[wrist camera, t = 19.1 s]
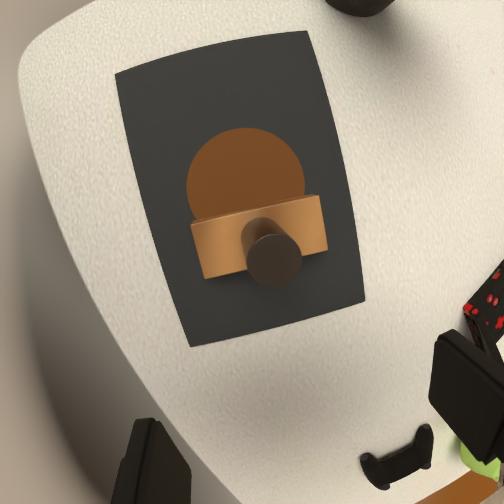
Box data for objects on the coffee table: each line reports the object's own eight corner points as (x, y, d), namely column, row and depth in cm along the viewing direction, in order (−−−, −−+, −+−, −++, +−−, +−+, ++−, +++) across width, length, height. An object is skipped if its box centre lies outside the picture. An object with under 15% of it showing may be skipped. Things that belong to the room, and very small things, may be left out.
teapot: (458, 401, 32) (505, 455, 20) (517, 358, 32) (565, 396, 20) (445, 466, 37) (474, 509, 25) (497, 430, 37) (529, 466, 25)
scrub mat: (190, 345, 26) (190, 347, 26) (116, 75, 20) (114, 73, 20) (363, 299, 27) (365, 301, 26) (306, 32, 21) (307, 30, 20)
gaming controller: (355, 453, 35) (368, 490, 32) (359, 458, 31) (373, 499, 28) (421, 421, 35) (433, 458, 32) (431, 422, 31) (444, 462, 28)
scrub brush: (206, 268, 24) (197, 316, 16) (193, 218, 23) (175, 243, 15) (317, 241, 25) (362, 276, 16) (308, 192, 24) (352, 203, 15)
